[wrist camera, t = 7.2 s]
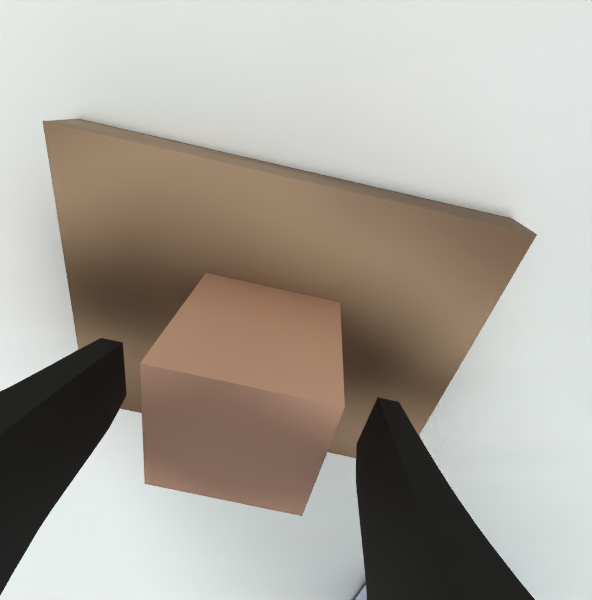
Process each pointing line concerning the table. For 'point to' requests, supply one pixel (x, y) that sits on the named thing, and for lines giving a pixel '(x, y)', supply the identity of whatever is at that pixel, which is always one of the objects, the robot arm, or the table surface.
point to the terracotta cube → (243, 394)
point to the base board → (275, 258)
